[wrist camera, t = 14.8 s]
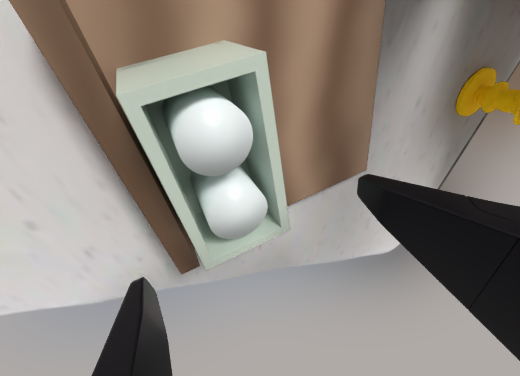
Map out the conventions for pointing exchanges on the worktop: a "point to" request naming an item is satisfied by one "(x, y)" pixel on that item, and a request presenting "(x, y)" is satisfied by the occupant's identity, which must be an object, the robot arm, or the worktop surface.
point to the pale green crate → (211, 143)
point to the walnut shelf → (207, 32)
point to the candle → (488, 95)
